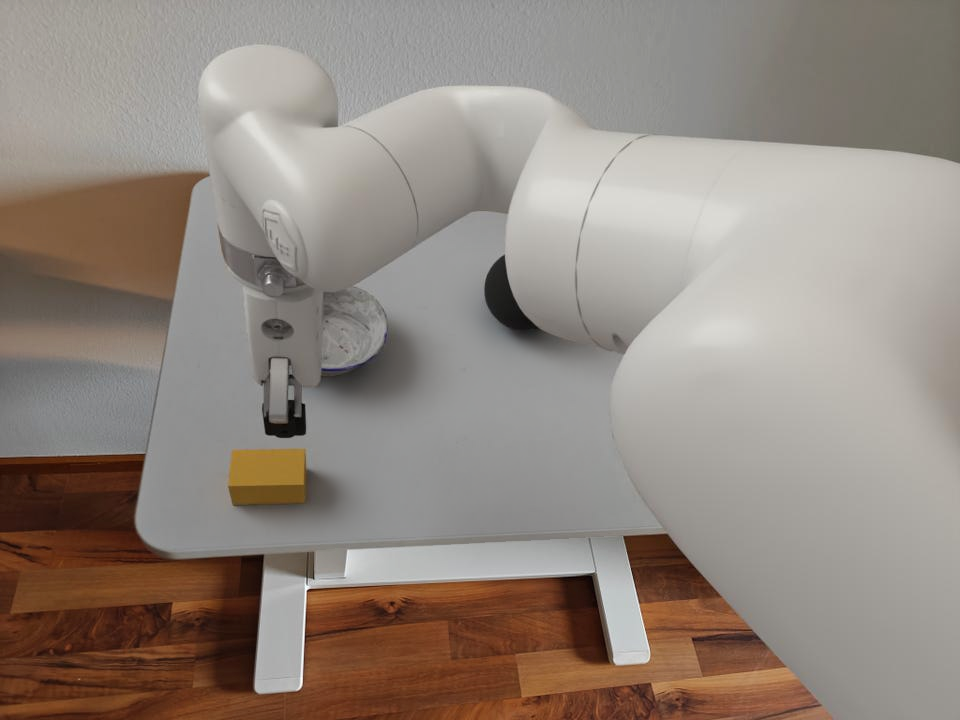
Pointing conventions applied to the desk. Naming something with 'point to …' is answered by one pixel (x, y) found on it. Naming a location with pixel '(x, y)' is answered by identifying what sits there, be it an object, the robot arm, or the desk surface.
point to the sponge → (267, 476)
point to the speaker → (504, 299)
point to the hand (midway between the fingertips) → (289, 383)
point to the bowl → (351, 330)
